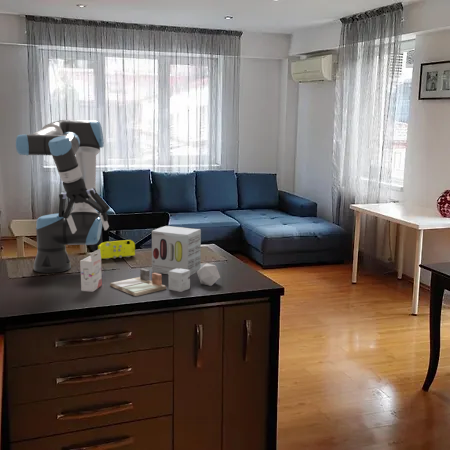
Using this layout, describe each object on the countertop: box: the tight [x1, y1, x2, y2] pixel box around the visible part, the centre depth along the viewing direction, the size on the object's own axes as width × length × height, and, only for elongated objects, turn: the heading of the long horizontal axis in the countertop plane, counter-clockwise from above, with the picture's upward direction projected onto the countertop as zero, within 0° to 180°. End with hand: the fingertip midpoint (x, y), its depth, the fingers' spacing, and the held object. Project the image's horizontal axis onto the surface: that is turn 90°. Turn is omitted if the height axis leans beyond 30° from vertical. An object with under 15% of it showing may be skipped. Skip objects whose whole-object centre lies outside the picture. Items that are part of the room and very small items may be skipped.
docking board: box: [109, 268, 167, 297], centre depth 224 cm, size 17×14×5 cm
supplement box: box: [151, 225, 202, 277], centre depth 247 cm, size 17×13×18 cm
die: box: [196, 263, 221, 287], centre depth 230 cm, size 8×9×10 cm
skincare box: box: [168, 268, 191, 293], centre depth 222 cm, size 6×6×7 cm
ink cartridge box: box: [79, 248, 103, 292], centre depth 221 cm, size 9×5×15 cm, turn 168°
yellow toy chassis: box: [97, 239, 136, 260], centre depth 271 cm, size 16×6×8 cm, turn 117°
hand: (90, 230), depth 220 cm, fingers open, 13 cm apart
